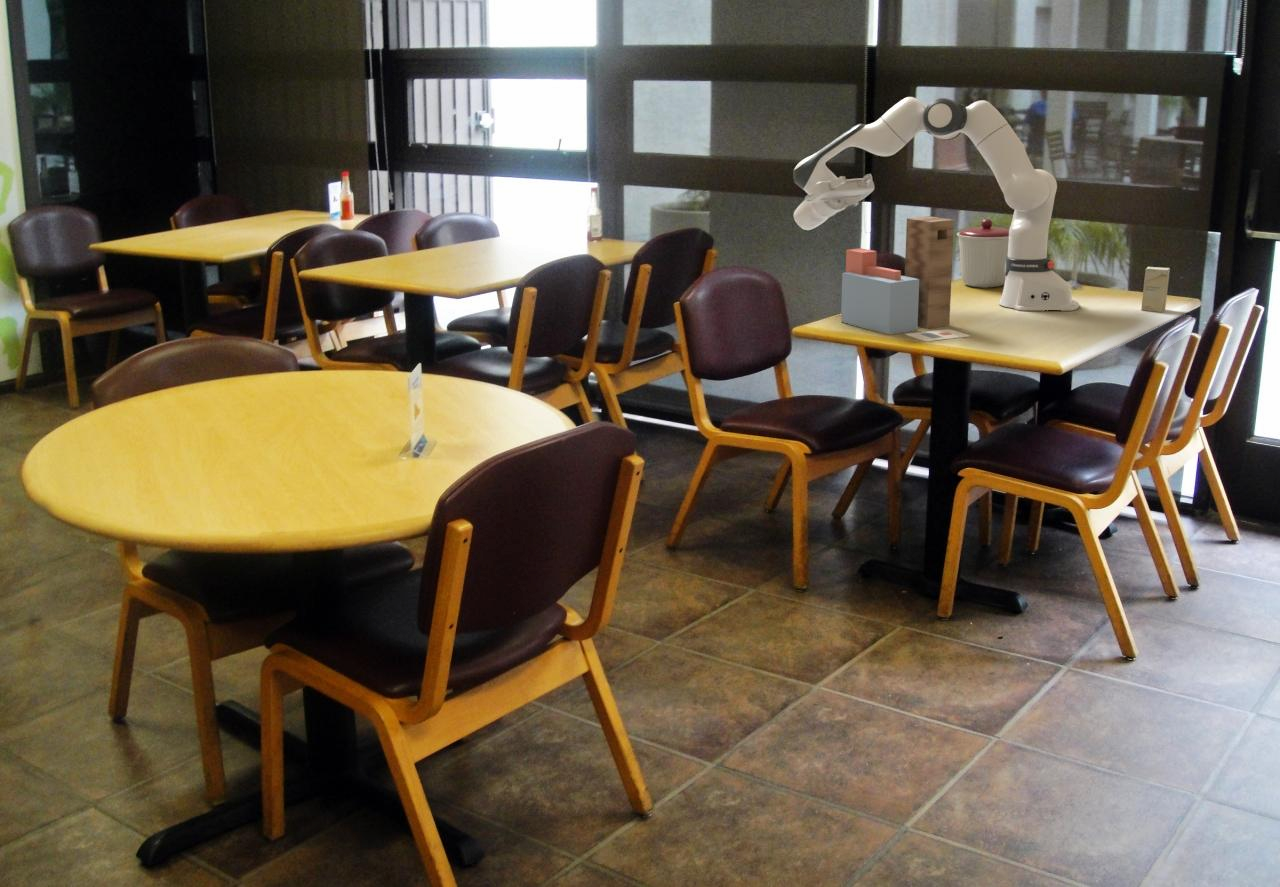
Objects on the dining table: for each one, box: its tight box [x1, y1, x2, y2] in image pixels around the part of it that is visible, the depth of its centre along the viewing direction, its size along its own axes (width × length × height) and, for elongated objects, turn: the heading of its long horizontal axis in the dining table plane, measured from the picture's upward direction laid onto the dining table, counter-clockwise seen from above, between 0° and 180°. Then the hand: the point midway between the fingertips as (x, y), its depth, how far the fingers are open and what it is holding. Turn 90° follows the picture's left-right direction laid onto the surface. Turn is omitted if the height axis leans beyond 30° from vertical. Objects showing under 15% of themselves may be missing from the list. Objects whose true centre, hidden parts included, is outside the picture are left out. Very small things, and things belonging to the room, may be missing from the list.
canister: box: [956, 218, 1010, 288], centre depth 436 cm, size 18×18×21 cm
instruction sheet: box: [904, 328, 971, 342], centre depth 367 cm, size 10×14×1 cm
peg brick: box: [845, 247, 902, 280], centre depth 377 cm, size 19×5×6 cm, turn 30°
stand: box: [904, 215, 955, 329], centre depth 377 cm, size 10×8×29 cm
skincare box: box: [1140, 266, 1171, 313], centre depth 393 cm, size 6×4×12 cm
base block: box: [840, 271, 919, 335], centre depth 378 cm, size 20×10×14 cm, turn 30°
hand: (856, 177), depth 392 cm, fingers open, 8 cm apart
